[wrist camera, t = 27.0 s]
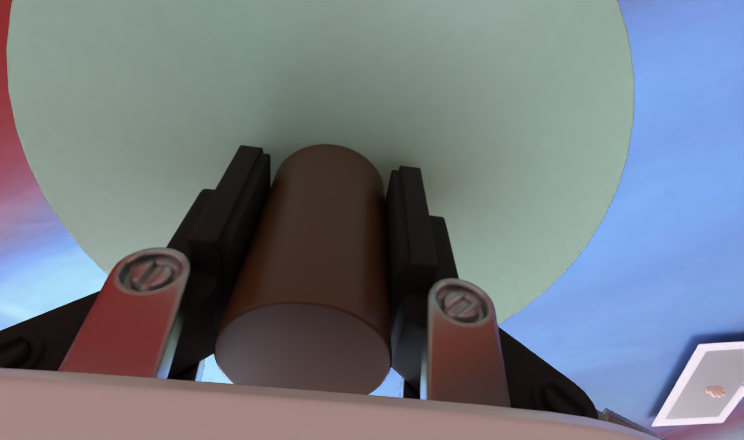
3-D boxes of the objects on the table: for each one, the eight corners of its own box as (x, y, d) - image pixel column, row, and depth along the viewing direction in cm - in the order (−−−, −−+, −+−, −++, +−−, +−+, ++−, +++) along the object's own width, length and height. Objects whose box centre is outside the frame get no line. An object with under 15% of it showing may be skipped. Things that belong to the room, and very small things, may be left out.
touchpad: (646, 417, 48) (656, 435, 47) (691, 334, 40) (706, 354, 38) (716, 413, 48) (729, 432, 46) (778, 329, 39) (797, 348, 37)
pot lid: (189, 357, 19) (112, 543, 13) (-131, -111, 9) (-942, -151, 3) (572, 320, 17) (666, 511, 12) (693, -294, 7) (1623, -889, 2)
